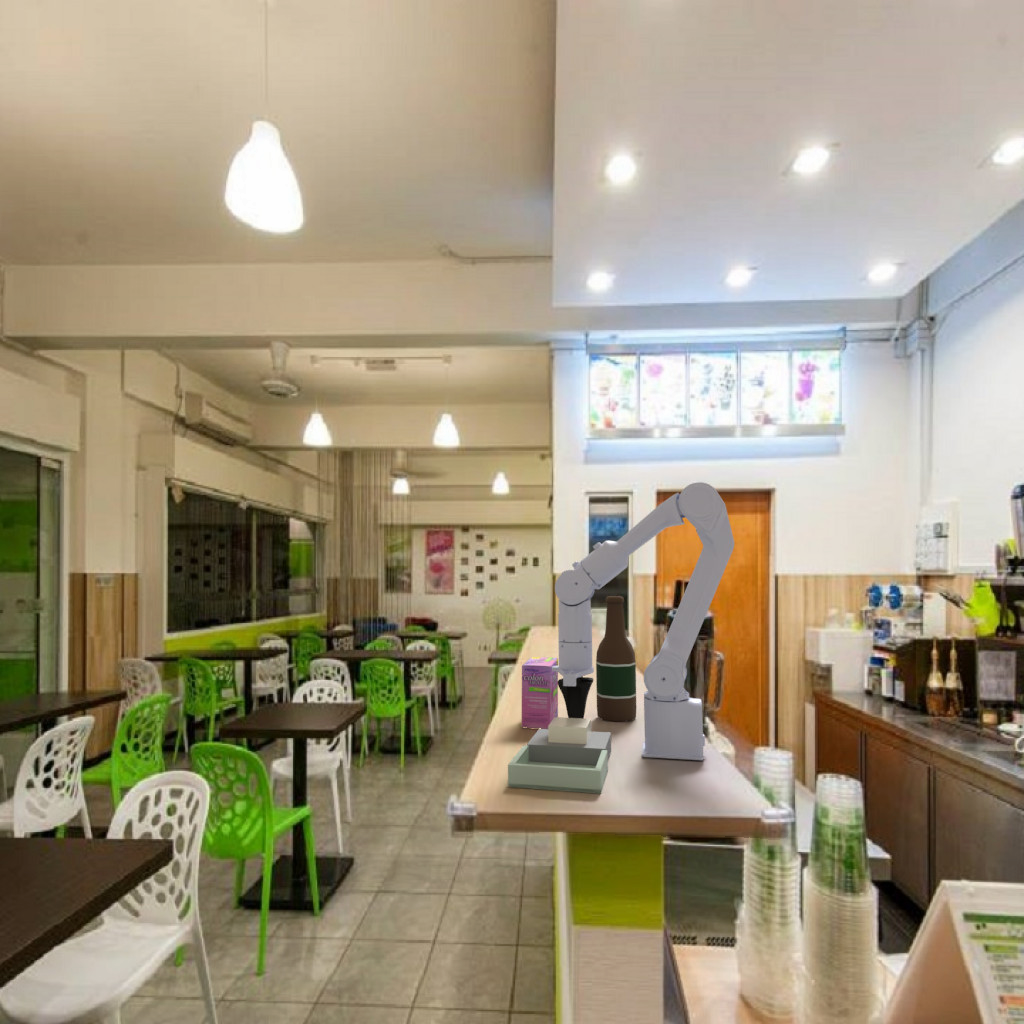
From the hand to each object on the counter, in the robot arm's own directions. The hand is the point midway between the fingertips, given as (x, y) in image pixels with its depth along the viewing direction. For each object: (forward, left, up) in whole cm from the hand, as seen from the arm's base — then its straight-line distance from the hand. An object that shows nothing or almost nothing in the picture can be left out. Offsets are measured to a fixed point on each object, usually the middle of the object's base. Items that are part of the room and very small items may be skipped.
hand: (576, 722), depth 116 cm
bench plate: (0, +7, -4) cm, 8 cm away
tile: (0, +7, -1) cm, 7 cm away
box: (+9, -15, -4) cm, 18 cm away
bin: (0, +17, -4) cm, 18 cm away
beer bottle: (-5, -22, -4) cm, 23 cm away
